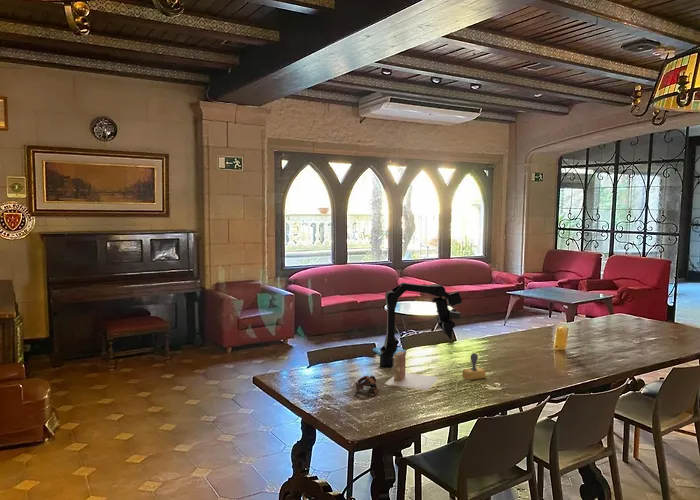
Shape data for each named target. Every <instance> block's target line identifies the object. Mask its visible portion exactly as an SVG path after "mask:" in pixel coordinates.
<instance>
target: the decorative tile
mask: <svg viewBox="0 0 700 500" xmlns="http://www.w3.org/2000/svg"><path fill="white" fill-rule="evenodd" d="M382 347H383V346H379V347H373V348H372V352H373V353H375V354H377V355H379V356H380V355H381V354H382V353H381V351H380V349H381V348H382ZM399 351H404V352H405V353H406V354H407V351H406V350H405V349H403V348H401V347H399V346H398V348H397V350H396V352H395V353H394V354H393V357H394V355H395V354H396V353H397V352H399Z"/></svg>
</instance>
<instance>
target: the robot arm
mask: <svg viewBox="0 0 700 500" xmlns="http://www.w3.org/2000/svg"><path fill="white" fill-rule="evenodd" d="M405 292H413V293H415V292H416V293H423V294H428V295H432V296H433V297H432V299H431V302H432V303H435V306H436V307H435V308H436V313H437V315H436V316H435V321H436V323H437V325H438V326H439V328H440V329H441V331H442V332H443V334H444V335H445V336H447V337H448V339H449V340H452V337H453V330H454V328H455V327H456V322H455V321H453V319H454V320H455V319H456V320H460V319H461V312H460V311H457V310H456V309H455V308H452V309H451V310H450V309H449V306H448V305H450V306H451V307H454V306H457V305H461V304H463V300H462V297H461V295H460V293H459V291H454V292H450V293H449V292H447V291H446V289H445V287H444V286H443V285H440V284H427V285H425V284H417V283H410V282H409V283H408V282H405V281H403V282H401V283H400V284H398V285H397V286H396V287H393V289H391V290H387V291H386V292H385V293H384V299H385V304H386V336H385V339H384V343H383V345H382V346H381V347H382V348H381V349H380V351H381V353H382V354H381V355H379V366H378V367H379V368H383V369H384V368H385V369H392V368H394V356H393V354H394V353H395V352H396V350H397V348H398V347H399V345H398V344H399V340H398V338H397V337H395V335H396V333H395V331H396V330H395V328H396V327H395V326H396V323H395V322H396V307H397V304H398V299H399V298H400V297H402V295H403V294H404V293H405Z"/></svg>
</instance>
